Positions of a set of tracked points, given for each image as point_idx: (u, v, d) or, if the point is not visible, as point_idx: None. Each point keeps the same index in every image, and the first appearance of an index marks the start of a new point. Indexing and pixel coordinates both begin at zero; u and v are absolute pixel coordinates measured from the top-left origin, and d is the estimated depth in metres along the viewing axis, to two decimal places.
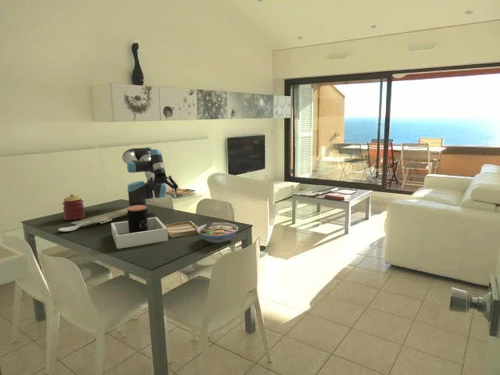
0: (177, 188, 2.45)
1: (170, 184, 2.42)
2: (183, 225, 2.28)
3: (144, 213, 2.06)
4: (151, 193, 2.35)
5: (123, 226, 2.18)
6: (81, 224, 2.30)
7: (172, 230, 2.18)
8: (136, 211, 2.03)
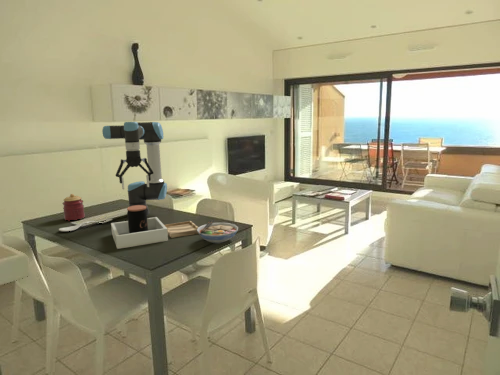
0: None
1: (144, 170, 2.05)
2: (183, 225, 2.28)
3: (144, 213, 2.06)
4: (120, 180, 2.00)
5: (123, 226, 2.18)
6: (81, 224, 2.30)
7: (172, 230, 2.18)
8: (136, 211, 2.03)
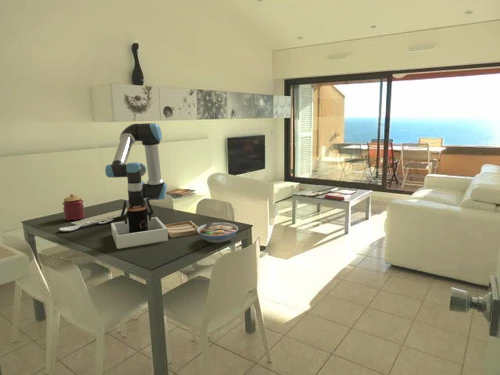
0: None
1: None
2: (183, 225, 2.28)
3: (144, 213, 2.06)
4: (125, 221, 2.05)
5: (123, 226, 2.18)
6: (82, 224, 2.30)
7: (172, 230, 2.18)
8: (136, 211, 2.03)
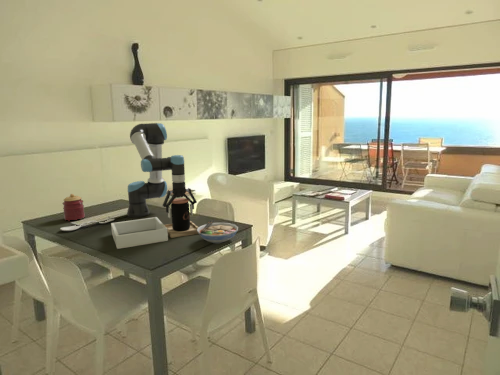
0: None
1: (188, 199, 2.19)
2: None
3: (187, 205, 2.16)
4: (167, 210, 2.15)
5: (123, 226, 2.18)
6: None
7: (172, 230, 2.18)
8: (180, 203, 2.13)
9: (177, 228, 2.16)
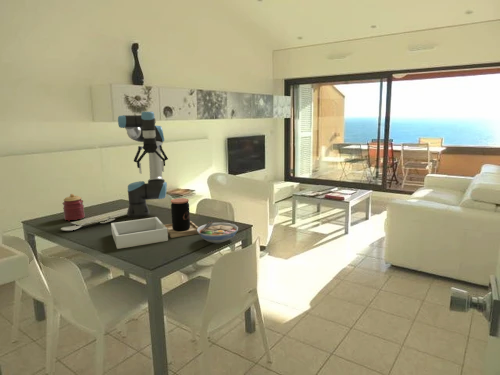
0: None
1: (159, 156, 2.24)
2: None
3: (187, 205, 2.16)
4: (138, 165, 2.19)
5: (123, 226, 2.18)
6: (83, 223, 2.31)
7: (172, 230, 2.18)
8: (180, 203, 2.13)
9: (177, 228, 2.16)
